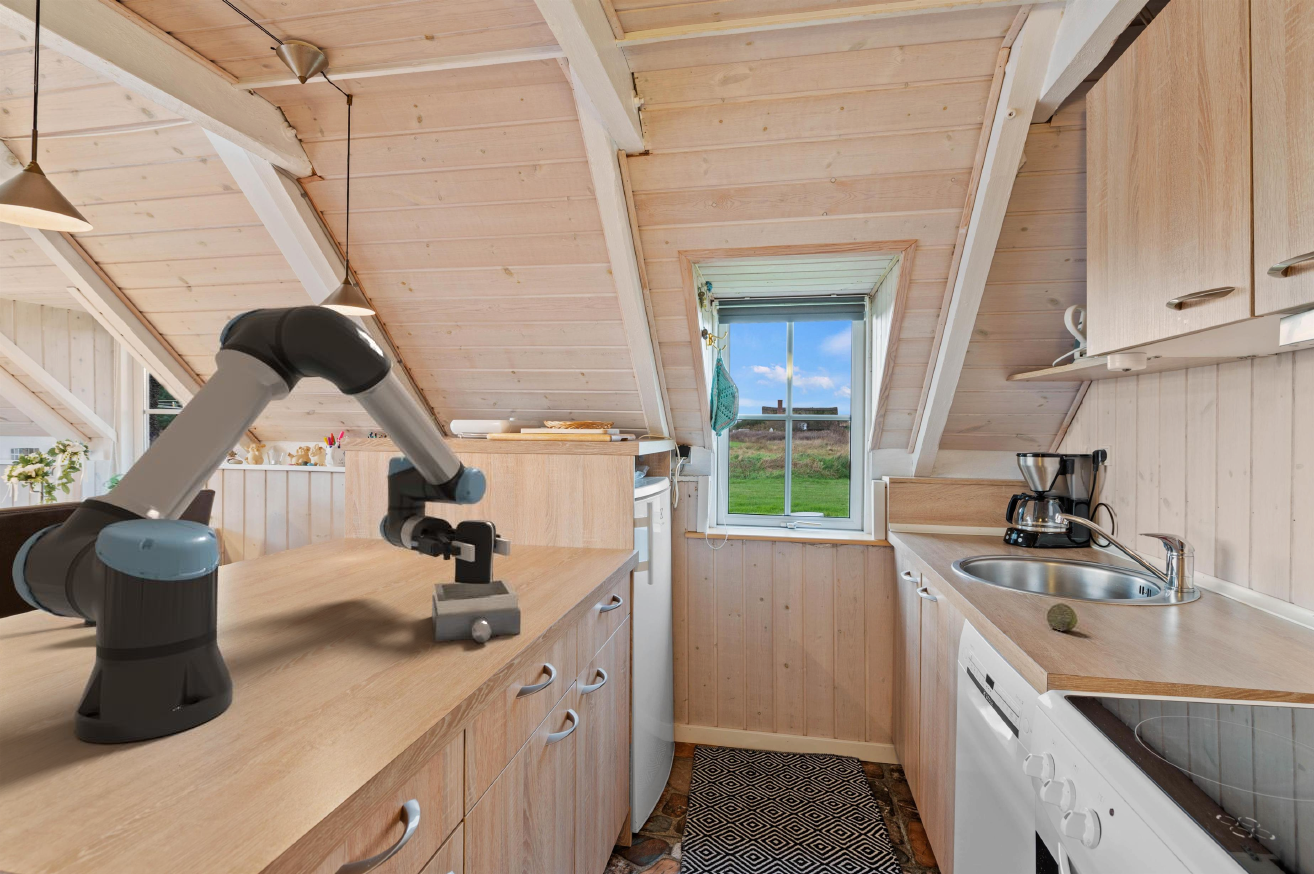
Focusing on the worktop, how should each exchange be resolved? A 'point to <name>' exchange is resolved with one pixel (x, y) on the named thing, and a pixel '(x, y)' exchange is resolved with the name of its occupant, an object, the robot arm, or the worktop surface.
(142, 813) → the worktop surface
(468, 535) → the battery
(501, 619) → the grey drawer box
